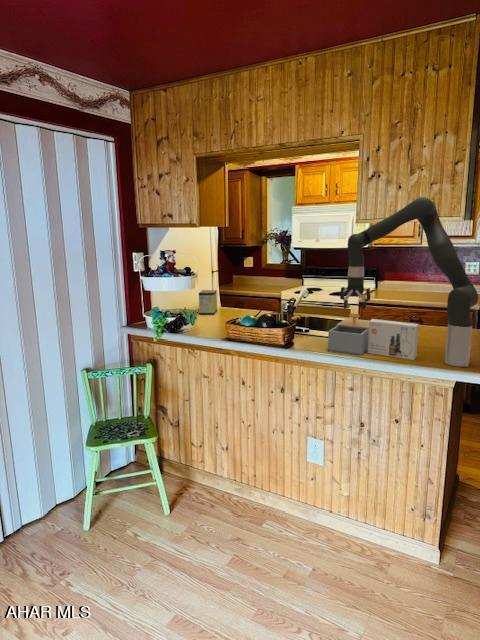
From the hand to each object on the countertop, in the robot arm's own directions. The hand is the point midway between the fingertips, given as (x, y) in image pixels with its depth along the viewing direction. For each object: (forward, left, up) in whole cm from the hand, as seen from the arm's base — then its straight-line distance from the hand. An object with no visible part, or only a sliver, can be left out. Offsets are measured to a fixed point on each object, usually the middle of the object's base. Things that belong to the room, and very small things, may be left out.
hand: (354, 308), depth 210 cm
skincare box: (-20, +8, -19) cm, 29 cm away
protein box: (+115, -39, -19) cm, 123 cm away
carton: (0, +7, -19) cm, 20 cm away
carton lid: (0, -5, -9) cm, 10 cm away
